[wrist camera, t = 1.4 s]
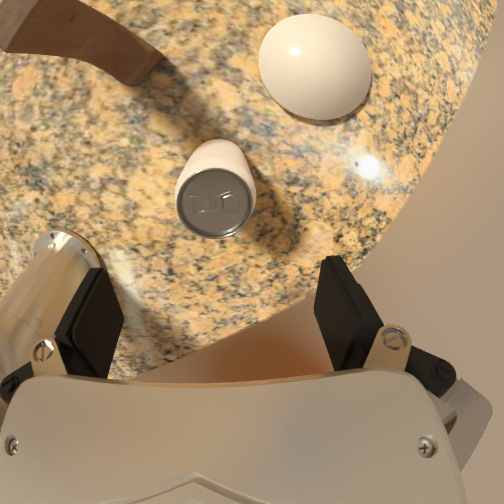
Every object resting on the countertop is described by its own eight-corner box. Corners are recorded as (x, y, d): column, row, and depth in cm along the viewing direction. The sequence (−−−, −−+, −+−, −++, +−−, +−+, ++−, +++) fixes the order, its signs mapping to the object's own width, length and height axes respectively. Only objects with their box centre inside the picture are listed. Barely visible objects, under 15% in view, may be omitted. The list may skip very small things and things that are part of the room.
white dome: (365, 124, 28) (369, 125, 27) (257, 117, 27) (258, 117, 26) (366, 28, 21) (370, 26, 20) (257, 11, 20) (258, 8, 19)
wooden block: (165, 56, 22) (94, 11, 7) (138, 86, 23) (41, 85, 8) (113, 19, 18) (19, -26, 3) (88, 49, 20) (-21, 34, 4)
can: (246, 191, 32) (258, 242, 21) (191, 194, 31) (176, 246, 21) (246, 137, 28) (259, 160, 18) (187, 140, 28) (165, 165, 17)
